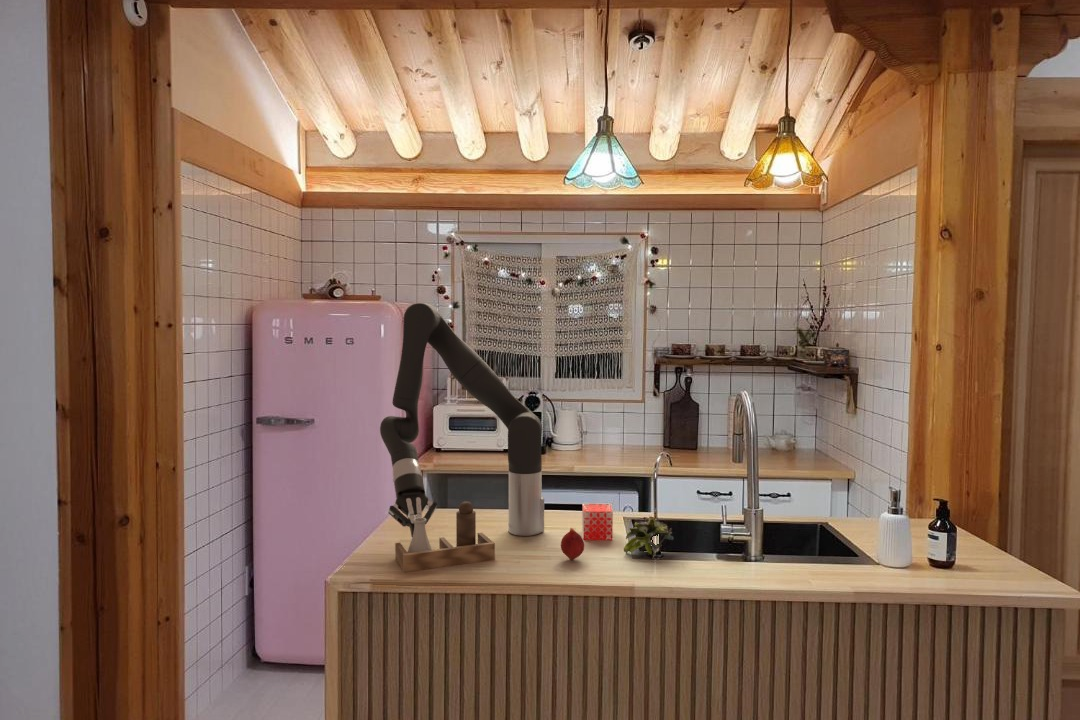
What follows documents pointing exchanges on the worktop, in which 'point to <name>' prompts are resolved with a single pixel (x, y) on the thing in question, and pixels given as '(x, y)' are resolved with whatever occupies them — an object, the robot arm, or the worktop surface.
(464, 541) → the pepper mill
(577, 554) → the onion
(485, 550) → the rack
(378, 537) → the worktop surface
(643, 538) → the green leafy plant
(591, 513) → the red patterned cube
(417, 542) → the flask
